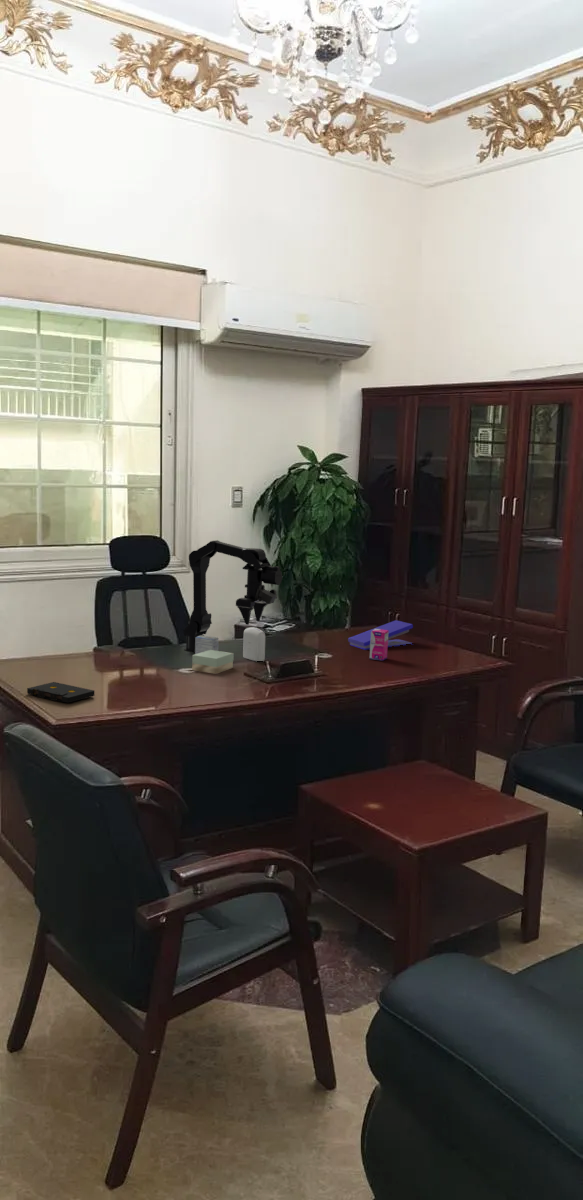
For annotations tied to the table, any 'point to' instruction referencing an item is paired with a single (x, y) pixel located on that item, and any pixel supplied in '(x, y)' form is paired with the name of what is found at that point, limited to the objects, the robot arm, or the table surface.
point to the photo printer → (254, 644)
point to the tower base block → (212, 668)
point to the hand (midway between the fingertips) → (252, 622)
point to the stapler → (394, 631)
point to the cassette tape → (60, 692)
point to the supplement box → (379, 644)
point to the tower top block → (213, 658)
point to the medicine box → (205, 643)
